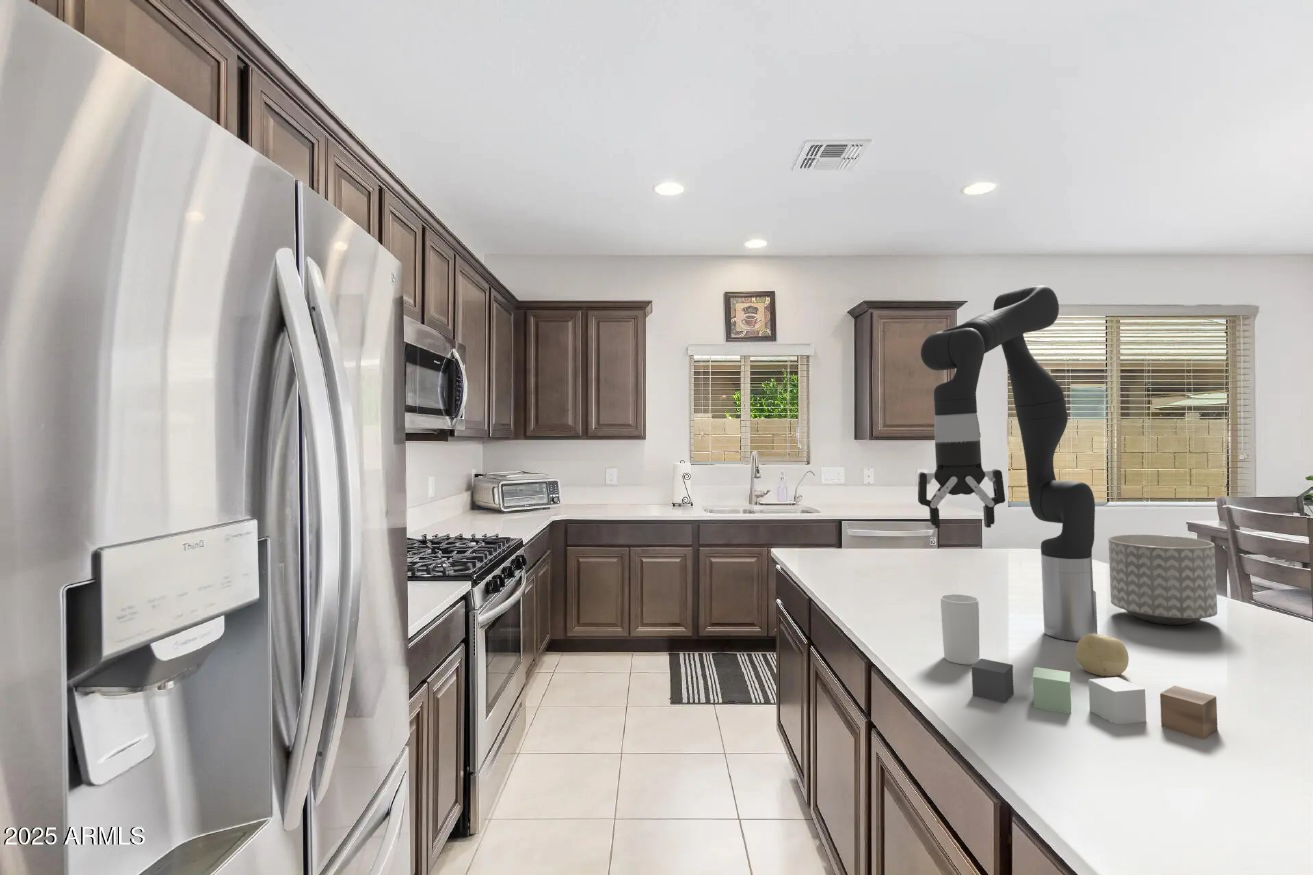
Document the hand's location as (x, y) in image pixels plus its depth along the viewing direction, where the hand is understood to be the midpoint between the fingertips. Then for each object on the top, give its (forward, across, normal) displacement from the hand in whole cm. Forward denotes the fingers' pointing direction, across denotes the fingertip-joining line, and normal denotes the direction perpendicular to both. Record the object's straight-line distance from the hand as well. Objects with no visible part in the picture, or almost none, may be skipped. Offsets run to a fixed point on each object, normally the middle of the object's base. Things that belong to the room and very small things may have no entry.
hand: (962, 527), depth 116 cm
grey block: (+27, -18, +14) cm, 36 cm away
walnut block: (+28, -26, +17) cm, 42 cm away
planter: (+29, -48, -43) cm, 71 cm away
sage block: (+27, -10, +11) cm, 31 cm away
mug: (+28, -1, -10) cm, 29 cm away
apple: (+28, -23, -5) cm, 37 cm away
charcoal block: (+27, -2, +9) cm, 29 cm away
